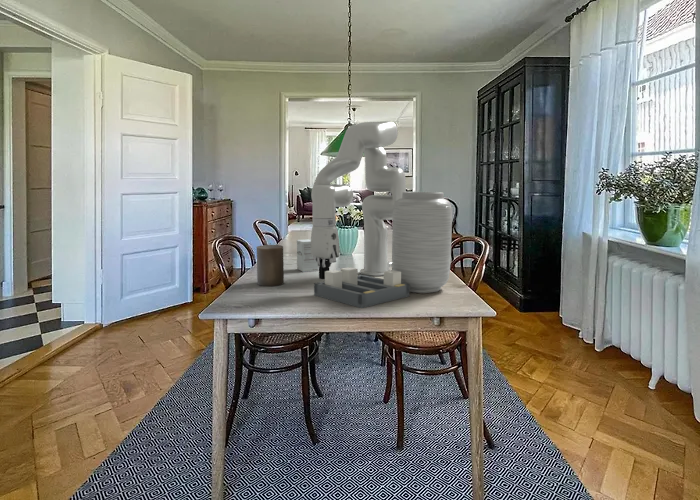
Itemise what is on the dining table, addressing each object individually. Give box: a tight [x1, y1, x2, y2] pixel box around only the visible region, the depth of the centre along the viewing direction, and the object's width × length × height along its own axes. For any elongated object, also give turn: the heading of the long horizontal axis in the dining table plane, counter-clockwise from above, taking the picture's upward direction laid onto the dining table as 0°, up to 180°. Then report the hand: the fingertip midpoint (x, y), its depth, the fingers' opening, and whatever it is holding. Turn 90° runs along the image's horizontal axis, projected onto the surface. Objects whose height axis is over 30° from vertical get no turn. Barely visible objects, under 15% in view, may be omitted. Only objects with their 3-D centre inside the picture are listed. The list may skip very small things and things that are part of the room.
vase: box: [391, 191, 453, 294], centre depth 168 cm, size 20×20×34 cm
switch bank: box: [313, 274, 410, 309], centre depth 159 cm, size 22×22×4 cm
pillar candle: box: [255, 242, 285, 287], centre depth 176 cm, size 10×10×15 cm
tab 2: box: [383, 269, 401, 286], centre depth 158 cm, size 4×4×7 cm
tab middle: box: [340, 267, 359, 285], centre depth 163 cm, size 4×4×7 cm
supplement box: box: [296, 238, 319, 273], centre depth 203 cm, size 7×7×13 cm
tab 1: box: [324, 269, 342, 288], centre depth 158 cm, size 4×4×7 cm
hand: (324, 278), depth 161 cm, fingers closed
